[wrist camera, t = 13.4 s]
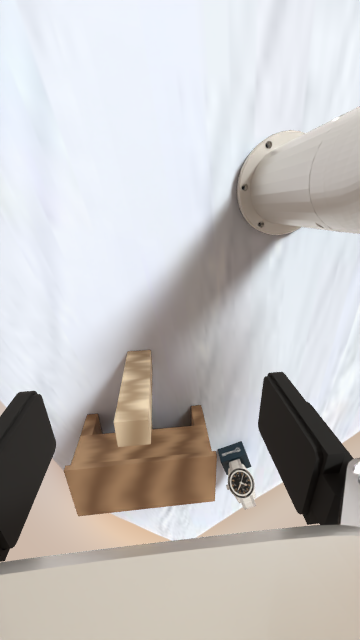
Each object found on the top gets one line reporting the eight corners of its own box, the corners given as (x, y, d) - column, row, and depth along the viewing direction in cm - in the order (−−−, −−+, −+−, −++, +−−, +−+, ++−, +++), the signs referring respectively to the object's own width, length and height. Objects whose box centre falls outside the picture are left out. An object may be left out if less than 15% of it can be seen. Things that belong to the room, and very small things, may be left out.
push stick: (176, 348, 45) (186, 416, 30) (180, 441, 54) (189, 528, 39) (101, 353, 44) (73, 426, 29) (117, 447, 53) (103, 538, 38)
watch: (239, 435, 55) (258, 486, 45) (248, 458, 58) (267, 511, 48) (214, 443, 55) (227, 496, 45) (225, 466, 58) (239, 520, 48)
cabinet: (203, 402, 50) (216, 455, 39) (203, 445, 55) (214, 503, 44) (84, 412, 48) (63, 470, 38) (94, 456, 53) (78, 518, 43)
